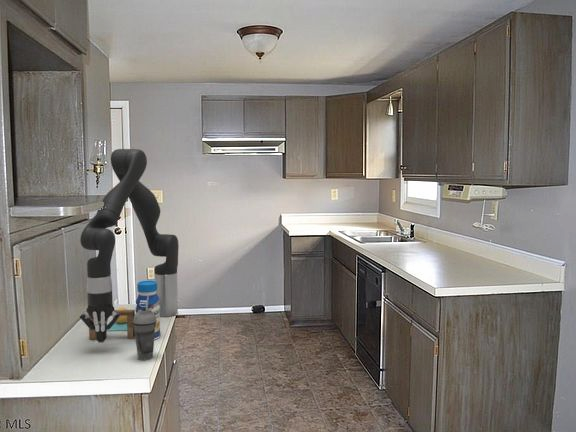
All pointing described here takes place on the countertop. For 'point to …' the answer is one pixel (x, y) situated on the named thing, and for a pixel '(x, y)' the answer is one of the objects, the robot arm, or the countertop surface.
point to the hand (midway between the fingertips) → (101, 341)
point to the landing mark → (118, 327)
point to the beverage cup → (144, 332)
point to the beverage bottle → (149, 301)
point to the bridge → (130, 328)
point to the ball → (122, 317)
